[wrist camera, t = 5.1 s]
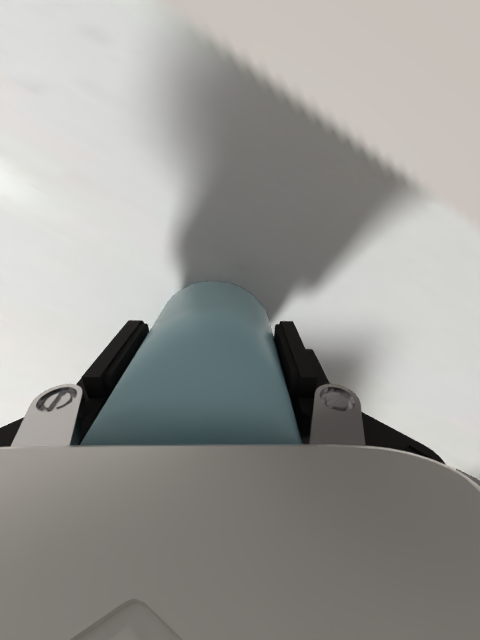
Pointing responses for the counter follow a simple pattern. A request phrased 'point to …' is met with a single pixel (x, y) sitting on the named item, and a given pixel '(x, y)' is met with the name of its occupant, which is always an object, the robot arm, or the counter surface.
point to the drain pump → (202, 377)
